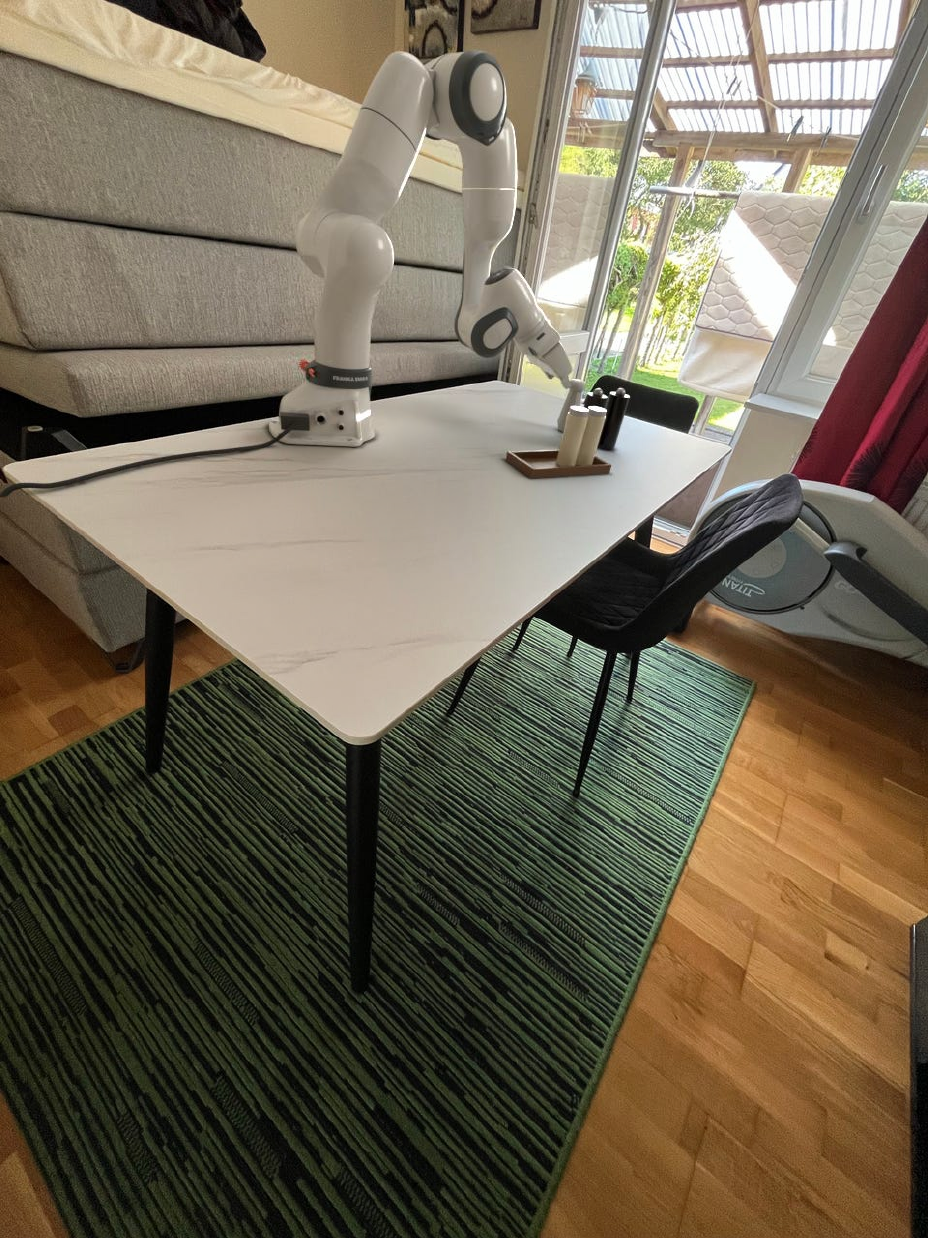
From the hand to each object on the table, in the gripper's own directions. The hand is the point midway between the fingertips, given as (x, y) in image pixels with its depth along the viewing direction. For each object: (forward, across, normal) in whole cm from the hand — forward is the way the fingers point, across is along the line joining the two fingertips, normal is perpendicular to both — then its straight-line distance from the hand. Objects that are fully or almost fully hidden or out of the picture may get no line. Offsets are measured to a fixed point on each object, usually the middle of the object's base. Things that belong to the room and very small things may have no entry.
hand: (559, 381), depth 133 cm
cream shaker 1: (+3, +27, -14) cm, 31 cm away
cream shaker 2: (+6, +26, -11) cm, 29 cm away
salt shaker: (+12, 0, -5) cm, 13 cm away
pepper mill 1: (+10, +15, -7) cm, 19 cm away
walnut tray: (+1, +27, -16) cm, 32 cm away
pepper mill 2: (+16, +12, -1) cm, 20 cm away
